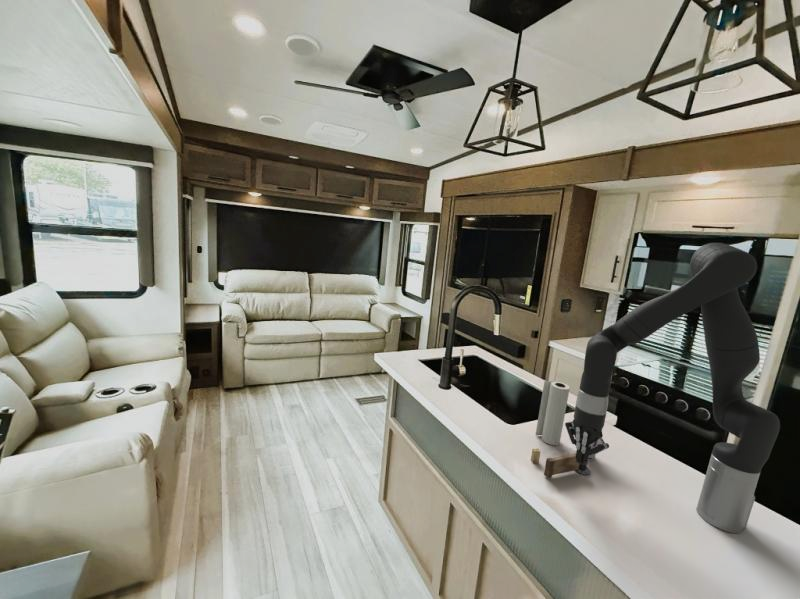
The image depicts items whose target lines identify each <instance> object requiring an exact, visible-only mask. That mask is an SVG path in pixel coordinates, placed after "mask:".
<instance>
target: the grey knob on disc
mask: <svg viewBox="0 0 800 599" xmlns="http://www.w3.org/2000/svg"><path fill="white" fill-rule="evenodd" d="M587 465H588V462H587V463H585V464H579V469H578V470H574V472H575V473H577V474H579V475H581V476H586V477H587V476H589V475H591V469H590V468H589V467H588V466H587Z"/></svg>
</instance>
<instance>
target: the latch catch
mask: <svg viewBox="0 0 800 599" xmlns="http://www.w3.org/2000/svg"><path fill="white" fill-rule="evenodd" d="M540 457H541V450H540V449H539V448H532V451H531V456H530V461H531V462H532V463H533V464H534V463H535V464H537V463H540Z"/></svg>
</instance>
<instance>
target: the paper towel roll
mask: <svg viewBox="0 0 800 599" xmlns="http://www.w3.org/2000/svg"><path fill="white" fill-rule="evenodd" d="M570 389H571V387H570V386H569V385H568V384H566V383H564V382H561V381H553V380H551V381H546V380H545V381H544V382H543V387H542V392H541V393H542V394H541V400H540V405H539V412H538V419H537V424H536V431H535V436H541V440H542V441H543V442H544V443H545V444H548V445H551V446H558V445H559V444H560V442H561V438H562V433H563V427H564V422H565V415H566V410H567V406H568V399H569V393H570Z"/></svg>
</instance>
